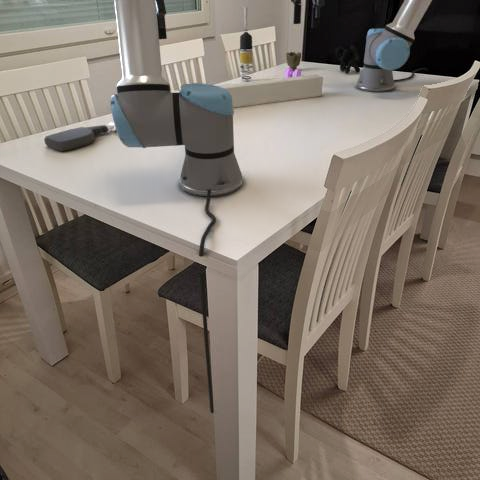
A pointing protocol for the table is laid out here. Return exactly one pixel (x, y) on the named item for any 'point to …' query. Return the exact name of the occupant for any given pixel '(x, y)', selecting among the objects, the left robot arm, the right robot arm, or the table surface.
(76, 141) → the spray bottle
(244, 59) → the filter
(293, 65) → the cup
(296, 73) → the bracket
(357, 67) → the squiggle
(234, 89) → the bar
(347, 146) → the table surface
